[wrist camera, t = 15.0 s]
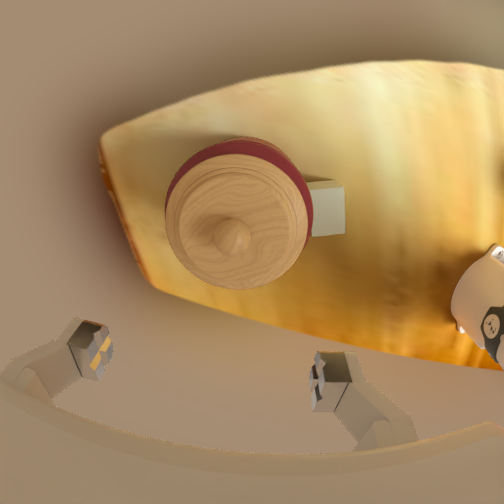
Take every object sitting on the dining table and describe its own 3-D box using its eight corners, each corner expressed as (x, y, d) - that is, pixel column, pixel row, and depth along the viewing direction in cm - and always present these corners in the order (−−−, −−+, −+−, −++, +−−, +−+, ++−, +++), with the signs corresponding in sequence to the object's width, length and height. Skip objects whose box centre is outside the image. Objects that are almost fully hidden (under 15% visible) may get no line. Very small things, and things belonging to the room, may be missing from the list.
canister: (199, 238, 39) (158, 320, 22) (189, 140, 33) (126, 157, 17) (297, 235, 38) (321, 319, 22) (297, 135, 32) (330, 144, 16)
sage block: (308, 190, 31) (303, 182, 35) (312, 236, 33) (307, 224, 37) (344, 187, 31) (334, 179, 35) (345, 233, 33) (336, 221, 37)
